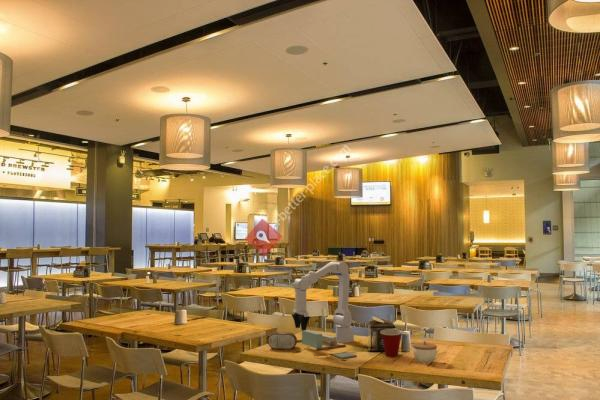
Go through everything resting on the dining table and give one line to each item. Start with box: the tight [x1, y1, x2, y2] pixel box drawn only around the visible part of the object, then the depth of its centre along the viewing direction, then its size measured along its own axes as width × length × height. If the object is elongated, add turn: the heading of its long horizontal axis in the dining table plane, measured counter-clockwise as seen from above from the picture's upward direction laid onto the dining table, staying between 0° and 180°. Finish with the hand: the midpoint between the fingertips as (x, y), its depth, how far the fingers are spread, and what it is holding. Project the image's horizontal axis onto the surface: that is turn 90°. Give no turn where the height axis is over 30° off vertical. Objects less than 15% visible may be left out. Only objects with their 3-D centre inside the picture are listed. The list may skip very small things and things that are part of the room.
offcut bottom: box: [322, 340, 338, 346], centre depth 271 cm, size 5×12×2 cm, turn 33°
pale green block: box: [301, 329, 323, 349], centre depth 266 cm, size 3×14×8 cm, turn 33°
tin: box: [267, 331, 298, 350], centre depth 262 cm, size 15×3×8 cm, turn 84°
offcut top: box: [321, 333, 337, 342], centre depth 271 cm, size 4×10×2 cm, turn 39°
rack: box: [297, 339, 347, 351], centre depth 268 cm, size 18×23×2 cm
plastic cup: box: [379, 328, 403, 358], centre depth 248 cm, size 11×11×12 cm
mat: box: [328, 351, 357, 360], centre depth 250 cm, size 9×17×1 cm, turn 33°
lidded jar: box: [412, 340, 438, 364], centre depth 236 cm, size 11×11×9 cm
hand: (300, 329), depth 263 cm, fingers open, 7 cm apart
